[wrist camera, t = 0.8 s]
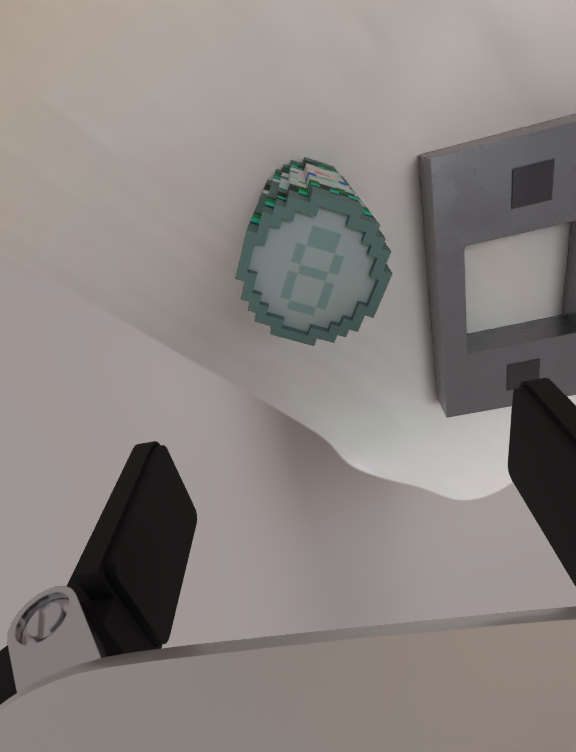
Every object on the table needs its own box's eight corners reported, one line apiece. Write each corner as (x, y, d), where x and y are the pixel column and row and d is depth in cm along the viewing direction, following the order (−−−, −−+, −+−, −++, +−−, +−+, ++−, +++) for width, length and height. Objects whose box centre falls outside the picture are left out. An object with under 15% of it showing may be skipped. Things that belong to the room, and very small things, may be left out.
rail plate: (612, 104, 27) (647, 103, 24) (578, 371, 37) (600, 391, 34) (418, 154, 28) (430, 159, 26) (436, 397, 38) (447, 418, 36)
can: (361, 175, 29) (413, 223, 16) (332, 260, 32) (356, 357, 19) (275, 147, 28) (259, 174, 16) (253, 237, 31) (225, 322, 19)
